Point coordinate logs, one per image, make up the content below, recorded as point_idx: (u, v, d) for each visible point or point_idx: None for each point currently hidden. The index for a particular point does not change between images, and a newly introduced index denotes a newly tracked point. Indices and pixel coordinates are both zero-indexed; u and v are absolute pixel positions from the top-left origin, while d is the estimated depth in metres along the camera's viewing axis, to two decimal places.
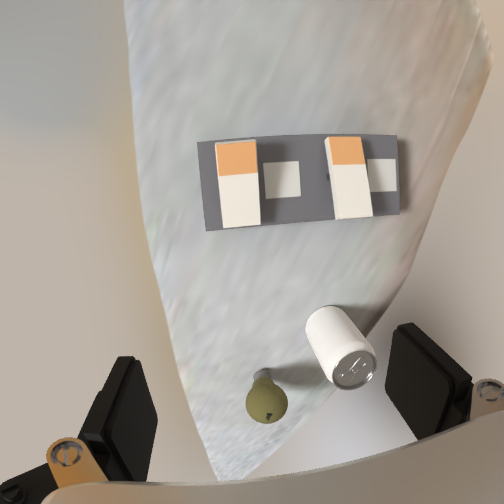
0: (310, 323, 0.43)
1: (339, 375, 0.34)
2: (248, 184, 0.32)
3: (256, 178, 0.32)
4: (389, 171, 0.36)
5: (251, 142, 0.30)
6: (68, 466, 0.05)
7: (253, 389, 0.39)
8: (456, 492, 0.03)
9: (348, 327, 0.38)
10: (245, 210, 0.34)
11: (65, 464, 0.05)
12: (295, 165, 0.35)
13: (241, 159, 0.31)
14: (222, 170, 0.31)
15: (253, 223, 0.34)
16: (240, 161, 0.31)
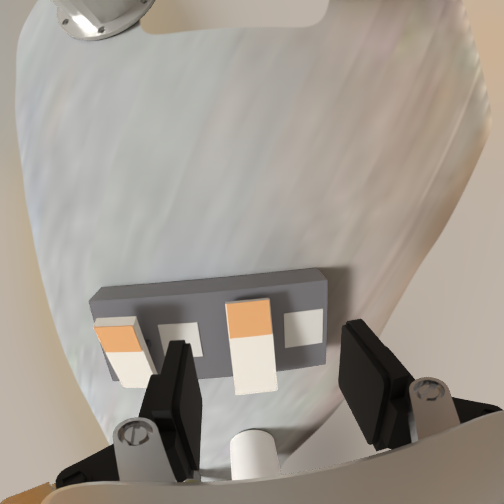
0: (232, 445, 0.39)
1: None
2: (136, 359, 0.28)
3: (143, 355, 0.28)
4: (314, 323, 0.32)
5: (128, 326, 0.26)
6: (133, 445, 0.06)
7: None
8: (456, 492, 0.03)
9: (260, 464, 0.33)
10: (140, 377, 0.29)
11: (131, 443, 0.06)
12: (193, 327, 0.31)
13: (122, 340, 0.26)
14: (107, 348, 0.27)
15: None
16: (122, 342, 0.27)
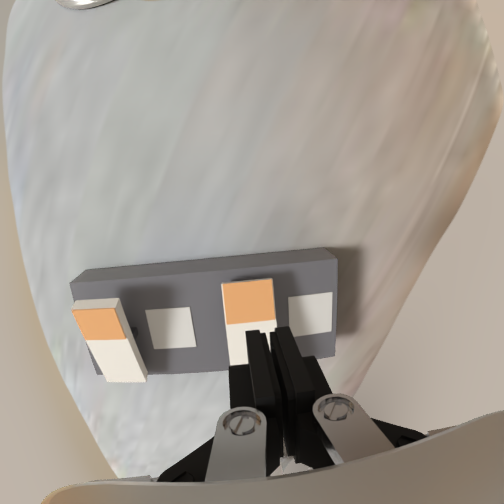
0: None
1: None
2: (120, 348, 0.24)
3: (127, 343, 0.24)
4: (322, 308, 0.28)
5: (110, 309, 0.22)
6: (235, 435, 0.07)
7: None
8: (456, 492, 0.03)
9: None
10: (125, 370, 0.26)
11: (234, 432, 0.07)
12: (185, 312, 0.27)
13: (103, 326, 0.23)
14: (87, 335, 0.23)
15: (138, 380, 0.26)
16: (103, 328, 0.23)
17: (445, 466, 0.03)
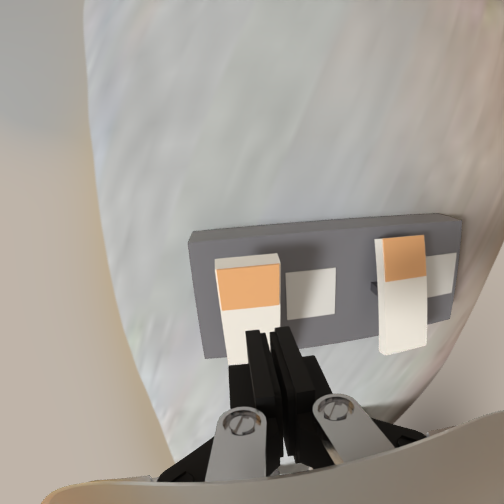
0: None
1: None
2: (265, 318, 0.22)
3: (277, 311, 0.22)
4: (447, 269, 0.26)
5: (273, 265, 0.20)
6: (235, 435, 0.07)
7: None
8: (456, 492, 0.03)
9: None
10: None
11: (233, 432, 0.07)
12: (330, 274, 0.25)
13: (256, 289, 0.20)
14: (227, 303, 0.21)
15: None
16: (254, 291, 0.20)
17: (445, 466, 0.03)
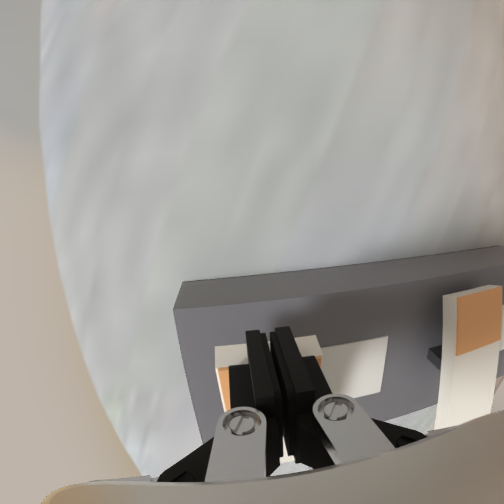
0: None
1: None
2: None
3: None
4: None
5: None
6: (235, 435, 0.07)
7: None
8: (456, 492, 0.03)
9: None
10: None
11: (233, 432, 0.07)
12: (380, 345, 0.16)
13: None
14: None
15: (294, 459, 0.15)
16: None
17: (445, 466, 0.03)
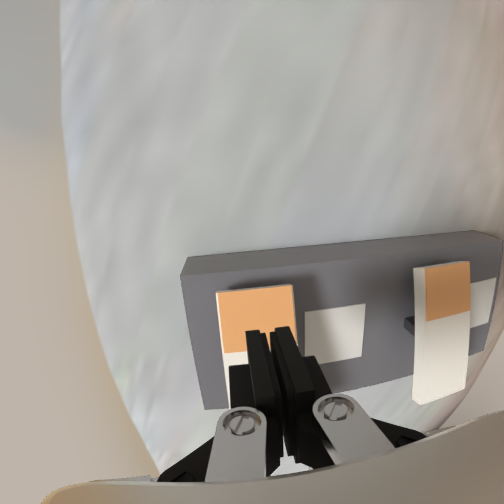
0: None
1: None
2: None
3: None
4: (486, 297, 0.20)
5: (284, 287, 0.17)
6: (235, 435, 0.07)
7: None
8: (456, 492, 0.03)
9: None
10: None
11: (234, 432, 0.07)
12: (359, 312, 0.19)
13: (266, 321, 0.16)
14: (230, 342, 0.16)
15: None
16: (264, 324, 0.16)
17: (445, 466, 0.03)
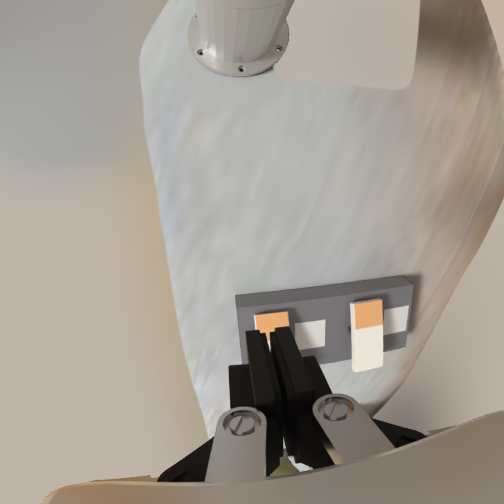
0: None
1: None
2: None
3: None
4: (402, 316, 0.41)
5: (284, 312, 0.38)
6: (235, 435, 0.07)
7: (276, 472, 0.44)
8: (456, 492, 0.03)
9: None
10: None
11: (234, 432, 0.07)
12: (322, 323, 0.40)
13: None
14: None
15: None
16: None
17: (445, 466, 0.03)
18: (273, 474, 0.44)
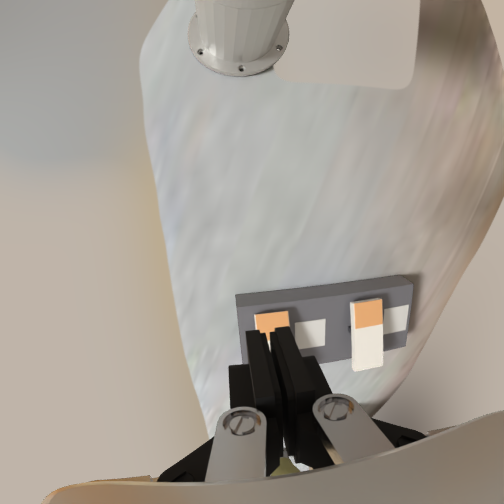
0: None
1: None
2: None
3: None
4: (402, 315, 0.41)
5: (284, 312, 0.38)
6: (235, 435, 0.07)
7: (277, 471, 0.44)
8: (456, 492, 0.03)
9: None
10: None
11: (234, 432, 0.07)
12: (322, 323, 0.40)
13: (276, 326, 0.37)
14: None
15: None
16: None
17: (445, 466, 0.03)
18: (273, 473, 0.44)
